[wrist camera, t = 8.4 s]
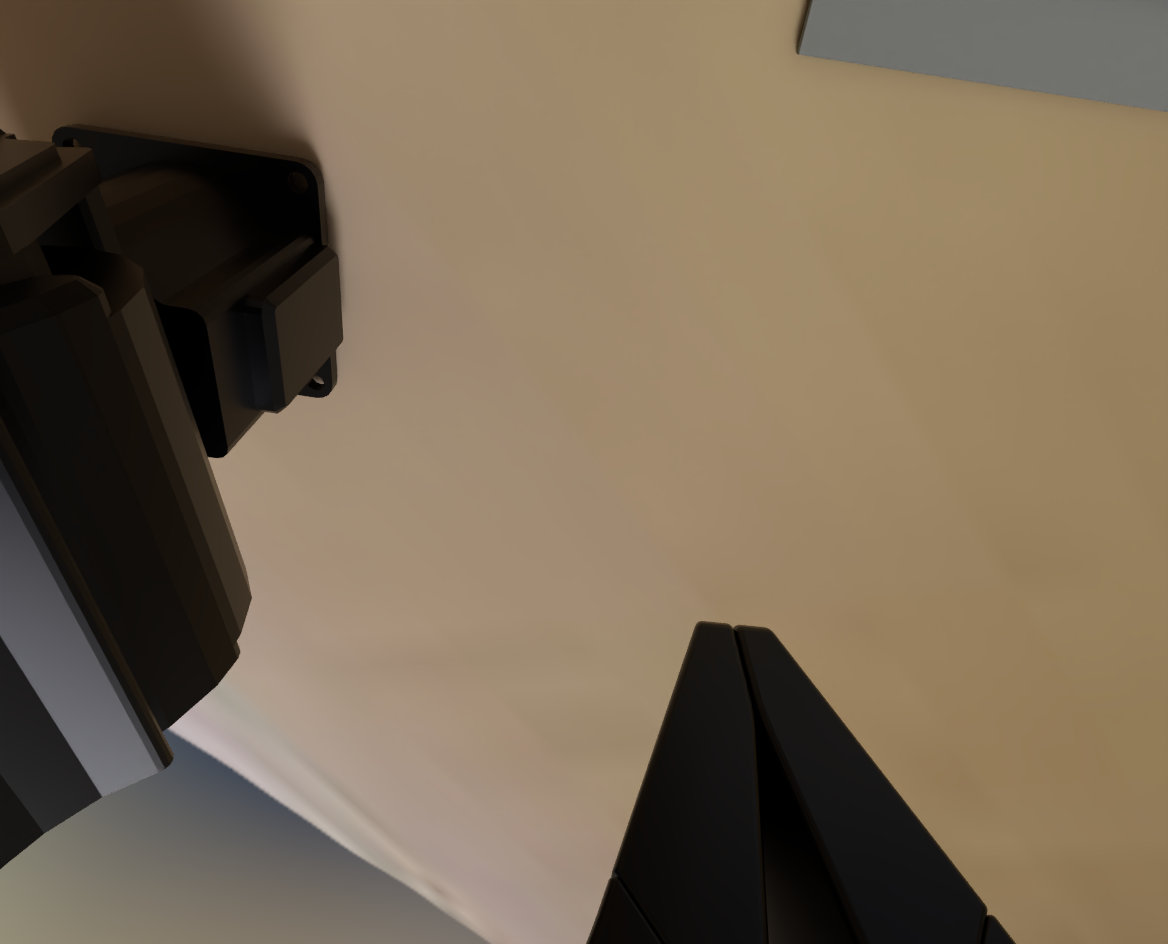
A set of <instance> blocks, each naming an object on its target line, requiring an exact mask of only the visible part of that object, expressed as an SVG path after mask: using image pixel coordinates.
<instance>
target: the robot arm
mask: <svg viewBox="0 0 1168 944" xmlns="http://www.w3.org/2000/svg"><path fill="white" fill-rule="evenodd" d="M73 139H75V140H77V141H78V142H79V143H80V144H81V146H82V147H74V145H73ZM294 172H298V173H300V174H302V175H303V176H304V177H305V178H306V180H307V183H308V188H307V190H303V189H301V188H299V187H298V186H297V185H296V184H295V181H294ZM342 341H343V327H342V311H341V295H340V279H339V262H338V255H337V254H336V253H335V251H334V250H333V249H332V247H331V246H328V236H327V221H326V207H325V192H324V181H323V177H322V174H321V172H320V171H319V169H318V168H317V166H316V165H314V164H313V163H312V162H311V161H309V160H306V159H303V158H298V157H292V156H285V155H278V154H272V153H265V152H259V151H252V150H245V149H239V148H232V147H226V146H219V145H213V144H206V143H199V142H193V141H186V140H180V139H173V138H167V137H160V136H153V135H147V134H140V133H134V132H127V131H121V130H114V129H107V128H101V127H94V126H88V125H81V124H73V125H67V126H63V127H60V128H58V129H57V130H56V131H55V132H54V134H53V137H52V142H43V141H29V140H17V139H16V137H15V134H6V133H5V132H3V131H2V130H1V129H0V869H1V868H2V867H3V866H4V865H6V864H7V863H8V862H9V861H11V860H12V859H13V858H14V857H16V856H17V855H18V854H19V853H21V852H22V851H23V850H24V849H26V848H27V847H28V846H29V845H31V844H32V843H33V842H34V841H36V840H37V839H38V838H39V837H40V836H42V835H43V834H44V833H46V832H47V831H49V830H50V829H52V828H54V827H55V826H57V825H58V824H60V823H62V822H63V821H65V820H66V819H68V818H70V817H71V816H73V815H74V814H76V813H77V812H79V811H81V810H82V809H84V808H86V807H87V806H89V805H90V804H92V803H93V802H95V801H97V800H98V799H100V798H101V797H103V796H105V795H108V794H110V793H112V792H115V791H117V790H119V789H122V788H124V787H126V786H128V785H131V784H133V783H135V782H138V781H140V780H142V779H144V778H146V777H149V776H151V775H153V774H156V773H158V772H160V771H162V770H164V769H166V768H167V767H168V766H169V765H170V764H171V762H172V761H173V755H174V754H173V752H172V750H171V749H170V747H169V745H168V743H167V741H166V739H165V737H164V735H163V733H162V731H164V730H166V729H167V728H169V727H170V726H171V725H172V724H174V723H175V722H176V721H177V720H178V719H179V718H181V717H182V716H183V715H184V714H185V713H186V712H187V711H189V710H190V709H191V708H192V707H193V706H194V705H195V704H197V703H198V702H199V701H200V700H201V699H202V698H203V697H205V696H206V695H207V694H208V693H209V692H210V691H211V690H213V689H214V688H215V687H216V686H217V685H218V684H219V682H220V681H221V680H222V679H223V677H224V676H225V675H226V673H227V672H228V671H229V670H230V668H231V667H232V666H233V664H234V663H235V662H236V661H237V659H238V657H239V655H240V649H239V646H238V643H237V639H238V638H239V636H240V634H241V632H242V628H243V625H244V622H245V619H246V615H247V612H248V609H249V605H250V602H251V599H252V596H251V592H250V587H249V582H248V577H247V572H246V568H245V565H244V562H243V559H242V556H241V553H240V550H239V547H238V544H237V541H236V538H235V536H234V533H233V530H232V527H231V524H230V521H229V518H228V515H227V512H226V509H225V506H224V503H223V501H222V498H221V495H220V492H219V489H218V486H217V483H216V480H215V477H214V474H213V471H212V468H211V465H210V463H209V460H208V457H213V458H222V457H224V456H225V455H226V454H228V452H229V451H230V450H231V449H232V448H233V447H234V446H235V445H236V443H237V442H238V441H239V440H240V439H241V438H242V437H243V436H244V435H245V433H246V432H247V431H248V430H249V429H250V428H251V427H252V426H253V424H254V423H255V422H256V421H257V420H258V419H259V418H260V417H261V415H262V414H263V413H264V412H270V413H279V412H281V411H282V410H283V409H284V408H286V407H287V406H288V405H289V404H290V403H291V402H292V400H293V399H294V398H295V397H296V396H297V395H302V396H309V397H316V398H321V397H325V396H327V395H329V393H330V392H331V391H332V390H333V388H334V387H335V386H336V384H337V365H336V351H335V350H336V349H337V347H338V346H339V345H340V344H341V343H342ZM314 374H315V375H318V376H320V377H321V378H322V379H323V382H324V384H320V383H317V382H316V381H315V380H314V379H313V376H314ZM586 944H1016V943H1015V942H1014V941H1013V939H1012V938H1011V937H1010V935H1009V934H1008V933H1007V932H1006V930H1005V929H1004V928H1003V926H1002V925H1001V924H1000V923H999V921H998V920H997V919H996V918H995V917H994V916H993V915H987V907H986V905H985V904H984V903H983V901H982V900H981V899H980V897H979V896H978V895H977V894H976V892H975V891H974V890H973V888H972V887H971V886H970V885H969V883H968V882H967V881H966V879H965V878H964V877H963V876H962V874H961V873H960V872H959V870H958V869H957V868H956V867H955V865H954V864H953V863H952V861H951V860H950V859H949V858H948V856H947V855H946V854H945V852H944V851H943V850H942V849H941V847H940V846H939V845H938V843H937V842H936V841H935V840H934V838H933V837H932V836H931V834H930V833H929V832H928V831H927V829H926V828H925V827H924V825H923V824H922V823H921V822H920V820H919V819H918V818H917V816H916V815H915V814H914V813H913V811H912V810H911V809H910V807H909V806H908V805H907V804H906V802H905V801H904V800H903V798H902V797H901V796H900V795H899V793H898V792H897V791H896V789H895V788H894V787H893V786H892V784H891V783H890V782H889V780H888V779H887V778H886V777H885V775H884V774H883V773H882V771H881V770H880V769H879V768H878V766H877V765H876V764H875V762H874V761H873V760H872V759H871V757H870V756H869V755H868V753H867V752H866V751H865V750H864V748H863V747H862V746H861V744H860V743H859V742H858V741H857V739H856V738H855V737H854V735H853V734H852V733H851V732H850V730H849V729H848V728H847V726H846V725H845V724H844V723H843V721H842V720H841V719H840V717H839V716H838V715H837V714H836V712H835V711H834V710H833V708H832V707H831V706H830V705H829V703H828V702H827V701H826V699H825V698H824V697H823V696H822V694H821V693H820V692H819V690H818V689H817V688H816V687H815V685H814V684H813V683H812V681H811V680H810V679H809V678H808V676H807V675H806V674H805V672H804V671H803V670H802V669H801V667H800V666H799V665H798V663H797V662H796V661H795V660H794V658H793V657H792V656H791V654H790V653H789V652H788V651H787V649H786V648H785V647H784V645H783V644H782V643H781V642H780V640H779V639H778V638H777V636H776V635H775V634H774V633H773V632H772V631H771V630H770V629H768V628H765V627H756V626H746V625H737V626H735V627H733V628H732V626H731V625H729V624H727V623H716V622H706V621H700V622H698V623H697V624H696V626H695V628H694V631H693V634H692V637H691V640H690V643H689V646H688V649H687V652H686V655H685V658H684V661H683V664H682V667H681V669H680V672H679V675H678V678H677V681H676V684H675V687H674V690H673V693H672V696H671V699H670V702H669V705H668V708H667V711H666V714H665V717H664V720H663V723H662V726H661V729H660V732H659V734H658V737H657V740H656V743H655V746H654V749H653V752H652V755H651V758H650V761H649V764H648V767H647V770H646V773H645V776H644V779H643V782H642V785H641V788H640V791H639V794H638V796H637V799H636V802H635V805H634V808H633V811H632V814H631V817H630V820H629V823H628V826H627V829H626V832H625V835H624V838H623V841H622V844H621V847H620V850H619V853H618V856H617V859H616V861H615V864H614V867H613V871H612V876H611V878H610V879H609V881H608V884H607V887H606V890H605V893H604V896H603V899H602V901H601V904H600V907H599V910H598V913H597V916H596V919H595V922H594V924H593V927H592V930H591V932H590V935H589V937H588V940H587V943H586Z"/></svg>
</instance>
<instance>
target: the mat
mask: <svg viewBox="0 0 1168 944" xmlns="http://www.w3.org/2000/svg"><path fill="white" fill-rule="evenodd" d="M797 54H799V55H805V56H812V57H818V58H825V59H831V60H837V61H844V62H850V63H857V64H863V65H870V66H876V67H882V68H889V69H895V70H902V71H908V72H915V73H921V74H927V75H934V76H940V77H947V78H953V79H960V80H966V81H972V82H979V83H985V84H992V85H998V86H1005V87H1011V88H1017V89H1024V90H1030V91H1037V92H1043V93H1050V94H1056V95H1063V96H1069V97H1075V98H1082V99H1088V100H1095V101H1101V102H1108V103H1114V104H1120V105H1127V106H1133V107H1140V108H1146V109H1153V110H1159V111H1165V112H1168V0H810V2H809V6H808V10H807V14H806V18H805V22H804V26H803V30H802V34H801V38H800V42H799V45H798V49H797Z"/></svg>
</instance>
